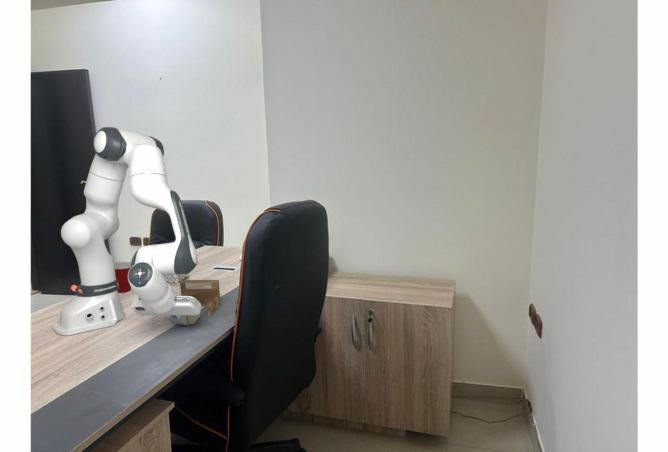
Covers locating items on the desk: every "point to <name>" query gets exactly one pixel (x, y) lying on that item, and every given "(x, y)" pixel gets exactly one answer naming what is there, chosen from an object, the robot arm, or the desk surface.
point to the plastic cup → (122, 275)
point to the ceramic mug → (185, 319)
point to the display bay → (203, 292)
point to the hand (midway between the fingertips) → (176, 316)
